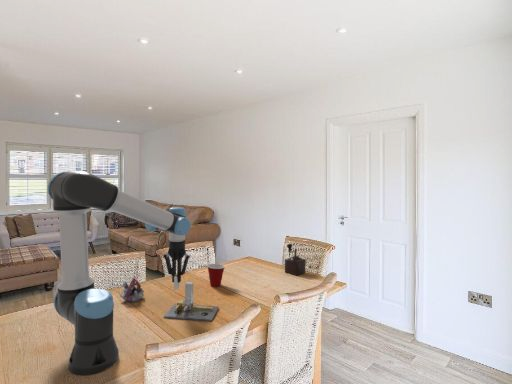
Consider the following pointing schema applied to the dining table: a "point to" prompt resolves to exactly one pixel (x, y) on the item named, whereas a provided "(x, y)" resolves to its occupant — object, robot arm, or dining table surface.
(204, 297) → the dining table surface
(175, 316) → the bolt plate
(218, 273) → the plastic cup
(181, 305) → the gauge rail
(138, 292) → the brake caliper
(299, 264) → the dark box with lever
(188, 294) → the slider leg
